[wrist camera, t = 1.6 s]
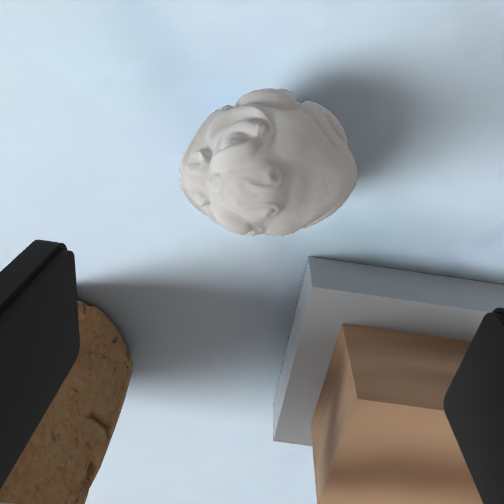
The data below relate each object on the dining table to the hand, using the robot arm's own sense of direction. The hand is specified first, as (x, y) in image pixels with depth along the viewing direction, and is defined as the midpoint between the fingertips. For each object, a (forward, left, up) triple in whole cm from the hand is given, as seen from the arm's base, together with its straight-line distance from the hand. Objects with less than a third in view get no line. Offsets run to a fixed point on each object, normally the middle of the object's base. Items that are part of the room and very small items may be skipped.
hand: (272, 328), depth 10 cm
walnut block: (+11, +9, -10) cm, 18 cm away
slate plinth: (+11, +9, -13) cm, 20 cm away
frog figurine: (-1, 0, -14) cm, 14 cm away
